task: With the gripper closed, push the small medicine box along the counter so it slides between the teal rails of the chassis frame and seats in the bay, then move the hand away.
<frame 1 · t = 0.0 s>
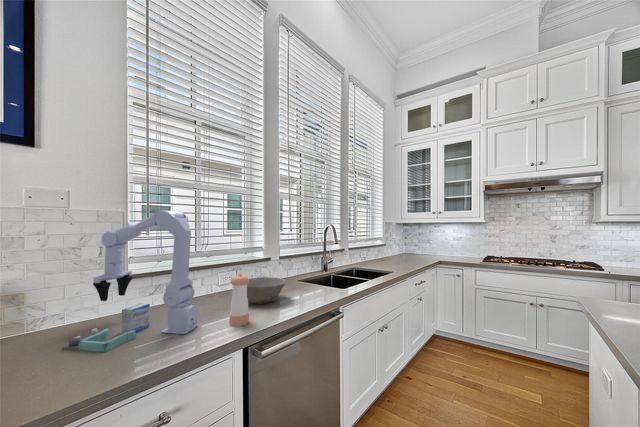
hand: (113, 298, 104), 10 cm above the countertop, tool pointing down, fingers open, 7 cm apart
medicine box: (135, 330, 99), on the countertop
ceramic bowl: (262, 301, 135), on the countertop
salt shaker: (239, 323, 107), on the countertop
chassis: (106, 343, 87), on the countertop
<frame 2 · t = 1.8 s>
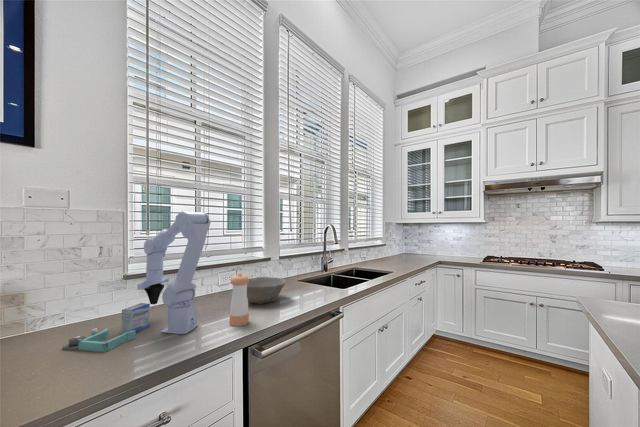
hand: (153, 303, 107), 7 cm above the countertop, tool pointing down, fingers closed
nothing on the countertop moved.
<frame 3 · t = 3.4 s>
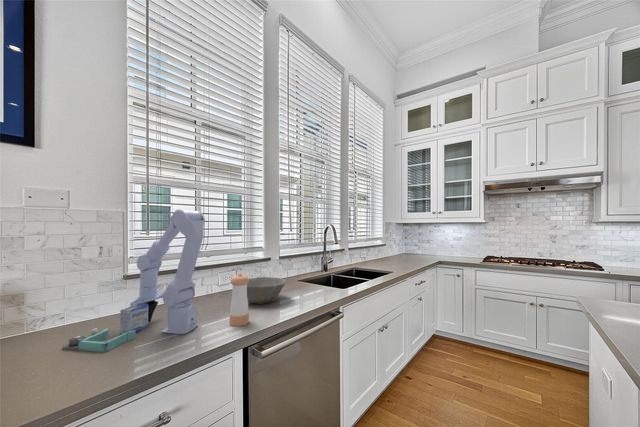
hand: (147, 321, 104), 1 cm above the countertop, tool pointing down, fingers closed
medicine box: (134, 330, 98), on the countertop, touching gripper
everything else where it was.
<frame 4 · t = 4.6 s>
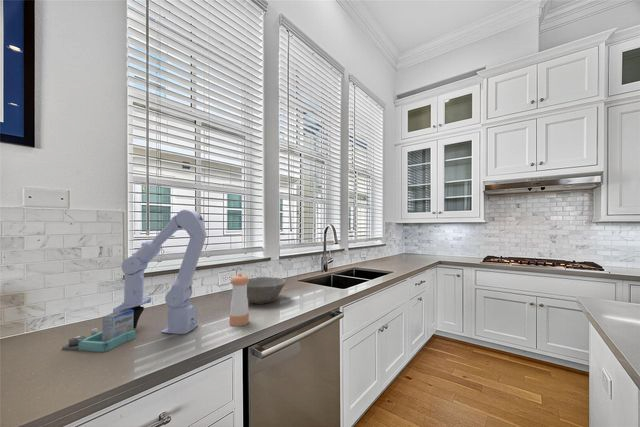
hand: (132, 328, 98), 1 cm above the countertop, tool pointing down, fingers closed
medicine box: (118, 338, 91), on the countertop, touching gripper
everything else where it was.
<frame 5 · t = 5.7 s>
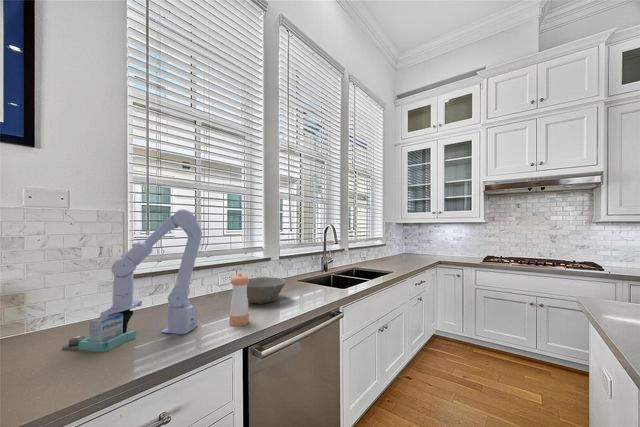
hand: (121, 333, 93), 1 cm above the countertop, tool pointing down, fingers closed
medicine box: (106, 344, 87), on the countertop, touching chassis, gripper
everything else where it was.
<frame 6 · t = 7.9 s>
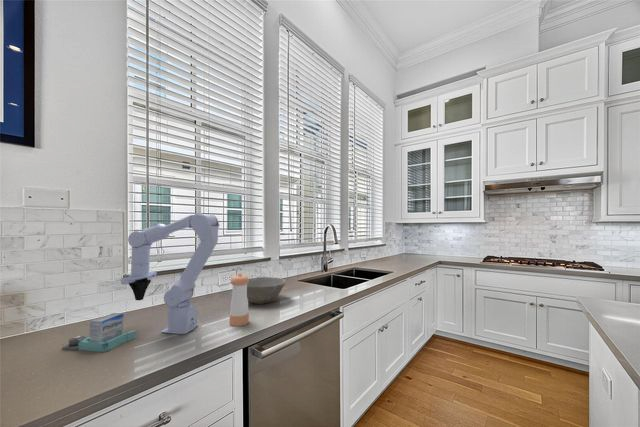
hand: (139, 299, 101), 10 cm above the countertop, tool pointing down, fingers closed
medicine box: (106, 344, 87), on the countertop
everything else where it was.
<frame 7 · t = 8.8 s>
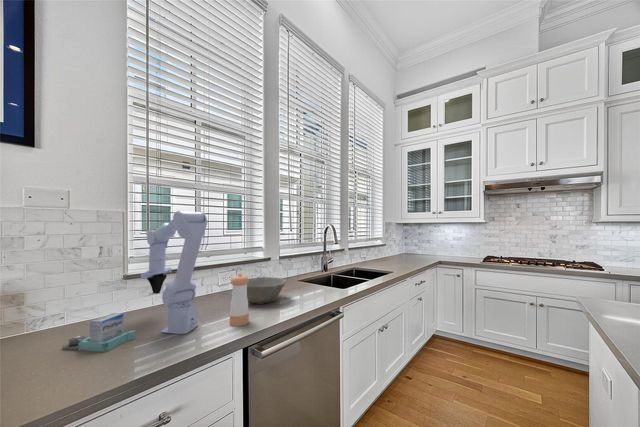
hand: (156, 293, 110), 10 cm above the countertop, tool pointing down, fingers closed
nothing on the countertop moved.
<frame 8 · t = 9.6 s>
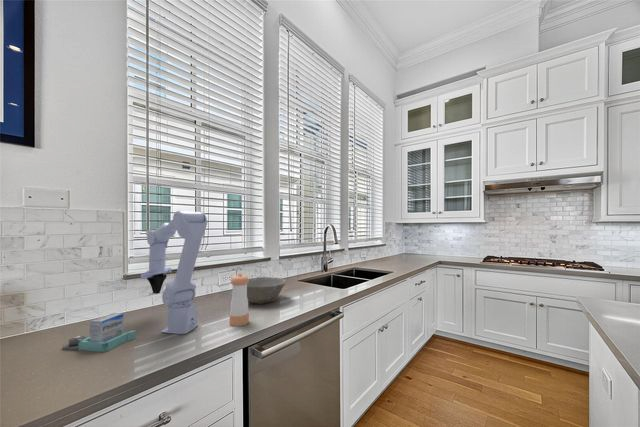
hand: (156, 293, 110), 10 cm above the countertop, tool pointing down, fingers closed
nothing on the countertop moved.
at the end: medicine box 0.5 cm off-centre on the chassis, point 0.0 cm above the chassis's base; medicine box tilted 0°; medicine box moved 11.5 cm from its start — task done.
